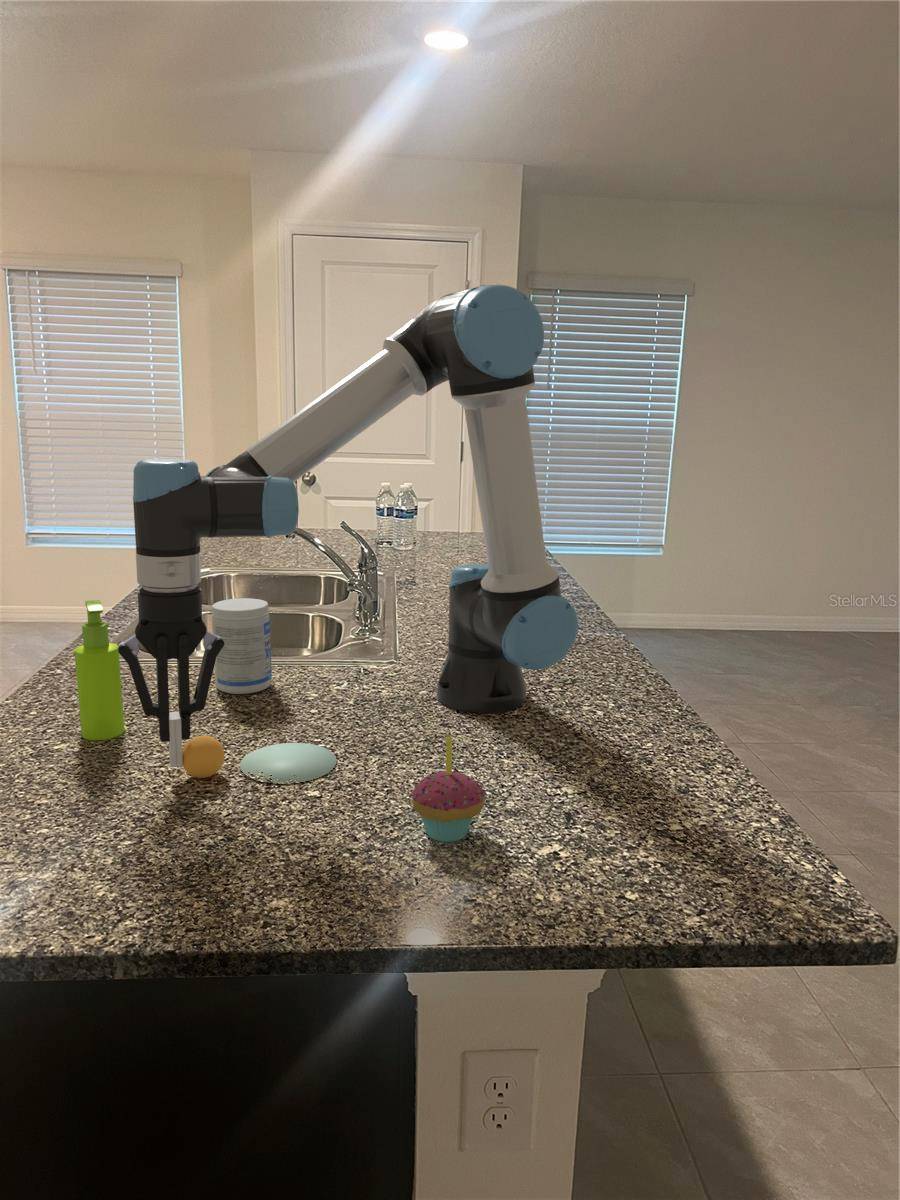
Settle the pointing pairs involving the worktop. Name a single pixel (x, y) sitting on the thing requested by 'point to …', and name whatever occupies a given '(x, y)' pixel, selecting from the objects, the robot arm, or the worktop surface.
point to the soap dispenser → (98, 679)
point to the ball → (202, 756)
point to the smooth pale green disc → (289, 762)
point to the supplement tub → (242, 645)
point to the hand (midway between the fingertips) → (175, 762)
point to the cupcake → (448, 801)
